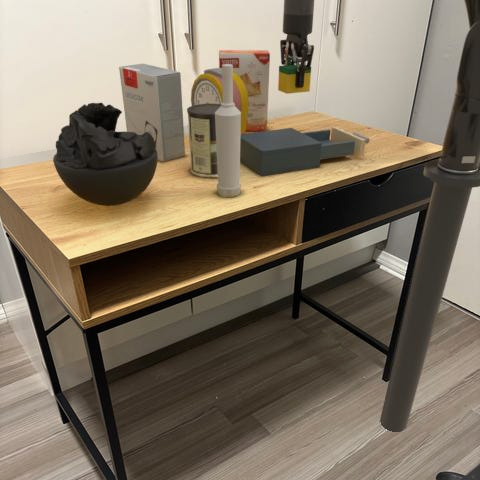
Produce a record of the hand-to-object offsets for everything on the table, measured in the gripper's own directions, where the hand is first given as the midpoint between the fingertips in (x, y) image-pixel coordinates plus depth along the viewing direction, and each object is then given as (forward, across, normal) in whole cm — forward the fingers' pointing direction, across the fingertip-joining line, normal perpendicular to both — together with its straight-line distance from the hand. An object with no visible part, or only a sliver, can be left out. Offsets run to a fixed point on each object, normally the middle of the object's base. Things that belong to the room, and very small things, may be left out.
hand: (294, 85), depth 137 cm
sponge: (+1, 0, 0) cm, 1 cm away
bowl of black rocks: (+14, -27, +57) cm, 65 cm away
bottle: (+14, -32, +33) cm, 48 cm away
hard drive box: (+14, +2, +39) cm, 41 cm away
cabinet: (+14, -18, +14) cm, 27 cm away
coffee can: (+14, -17, +31) cm, 38 cm away
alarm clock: (+14, +5, +20) cm, 25 cm away
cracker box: (+14, +13, +9) cm, 21 cm away
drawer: (+13, -18, -2) cm, 22 cm away
